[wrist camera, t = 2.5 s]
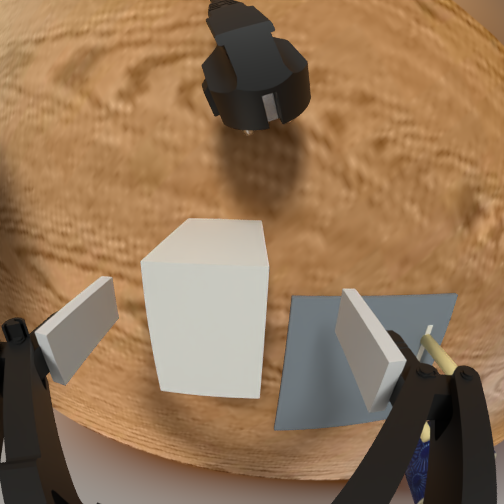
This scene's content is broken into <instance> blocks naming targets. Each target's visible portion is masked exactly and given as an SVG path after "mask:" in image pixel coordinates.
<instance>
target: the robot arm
mask: <svg viewBox="0 0 504 504" xmlns="http://www.w3.org/2000/svg"><path fill="white" fill-rule="evenodd" d="M118 319H119V316H118V310H117V305H116V299H115V292H114V286H113V278H112V277H106V276H101V277H100V278H99V279H97V280H96V281H95V282H94V283H92V284H91V285H90V286H89V287H87V288H86V289H85V290H84V291H82V292H81V293H80V294H79V295H77V296H76V297H75V298H74V299H73V300H71V301H70V302H69V303H68V304H66V305H65V306H64V307H63V308H62V309H61V310H59V311H58V312H56V313H54V314H52V315H51V316H50V317H48V318H47V320H45V321H44V322H43V323H42V324H40V325H39V326H38V327H37V328H36V329H35V330H33V331H32V332H31V333H30V334H29V332H28V329H27V326H26V323H25V320H24V319H22V318H12V319H9V320H8V321H6V322H5V323H4V324H3V325H2V330H3V332H4V335H5V338H6V340H7V342H0V461H1V453H2V446H3V440H4V442H5V453H6V462H5V463H4V462H3V463H0V482H1V488H2V494H3V499H4V503H5V504H83V503H82V502H81V501H80V499H79V497H78V495H77V493H76V490H75V487H74V485H73V482H72V479H71V476H70V474H69V470H68V468H67V465H66V461H65V458H64V454H63V451H62V447H61V444H60V440H59V436H58V432H57V427H56V423H55V418H54V413H53V408H52V403H51V397H50V391H49V384H48V380H47V378H46V375H47V374H48V373H49V372H50V374H51V376H52V379H53V381H54V382H57V383H60V384H62V385H65V386H66V384H67V383H68V382H69V380H70V379H71V378H72V376H73V375H74V374H75V372H76V371H77V370H78V369H79V367H80V366H81V365H82V363H83V362H84V361H85V360H86V358H87V357H88V356H89V354H90V353H91V352H92V351H93V349H94V348H95V347H96V346H97V344H98V343H99V342H100V341H101V339H102V338H103V337H104V336H105V334H106V333H107V332H108V331H109V330H110V328H111V327H112V326H113V325H114V324H115V322H116V321H117V320H118ZM335 333H336V335H337V337H338V340H339V342H340V344H341V347H342V349H343V351H344V354H345V356H346V358H347V361H348V363H349V366H350V368H351V370H352V373H353V375H354V378H355V380H356V382H357V385H358V387H359V390H360V392H361V395H362V397H363V400H364V402H365V405H366V407H367V410H368V412H369V413H371V412H378V411H384V410H385V409H386V407H387V405H388V403H389V401H390V403H391V405H392V409H391V411H390V413H389V415H388V417H387V419H386V421H385V423H384V425H383V426H382V428H381V430H380V432H379V434H378V435H377V437H376V439H375V441H374V442H373V444H372V446H371V447H370V449H369V451H368V452H367V454H366V455H365V457H364V459H363V460H362V462H361V463H360V465H359V466H358V468H357V469H356V471H355V472H354V474H353V475H352V477H351V478H350V479H349V481H348V482H347V484H346V485H345V487H344V488H343V489H342V490H341V492H340V493H339V495H338V496H337V497H336V498H335V500H334V501H333V502H332V503H331V504H389V503H390V501H391V499H392V497H393V495H394V494H395V492H396V490H397V488H398V486H399V484H400V482H401V480H402V478H403V476H404V474H405V472H406V470H407V467H408V465H409V463H410V461H411V458H412V456H413V454H414V451H415V449H416V447H417V444H418V441H419V439H420V436H421V434H422V431H423V428H424V425H425V422H426V420H430V445H429V459H428V470H427V479H426V487H425V494H424V500H423V504H497V486H496V485H497V484H496V465H495V455H494V446H493V438H492V432H491V426H490V420H489V415H488V410H487V405H486V400H485V396H484V392H483V388H482V384H481V380H480V376H479V374H478V372H477V371H476V370H474V369H473V368H471V367H469V366H458V367H457V368H456V369H455V370H454V372H453V374H452V375H441V374H439V373H438V371H437V369H436V368H434V367H433V366H431V365H429V364H426V363H420V362H419V360H418V359H417V358H416V356H415V355H414V353H413V352H412V351H411V349H410V348H408V345H407V344H406V343H405V341H404V340H403V339H402V337H401V336H400V335H399V334H397V333H396V332H394V331H393V330H385V329H384V327H383V326H382V324H381V323H380V322H379V320H378V319H377V317H376V316H375V315H374V313H373V312H372V311H371V309H370V308H369V306H368V305H367V304H366V302H365V301H364V300H363V298H362V297H361V296H360V294H359V293H358V292H357V290H356V289H343V290H342V295H341V301H340V307H339V312H338V317H337V323H336V328H335ZM97 504H100V503H97Z"/></svg>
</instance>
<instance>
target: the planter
mask: <svg viewBox="0 0 504 504" xmlns="http://www.w3.org/2000/svg"><path fill="white" fill-rule="evenodd" d="M428 425H429V427H430V421H429V422H428ZM429 445H430V440H429V441H427V442H422V440H421V438H420V439H419V441H418V444H417V447H416V449H415V451H414V454H413V456H412V458H411V461H410V463H409V465H408V467H407V470H406V472H405V475H406V479H407V481H408V485H409V488H410V491H411V494H412V497H413V500H414V503H415V504H423V500H424V494H425V487H426V479H427V470H428V459H429ZM494 455H495V458H496V455H497V454H496V452H495V451H494Z"/></svg>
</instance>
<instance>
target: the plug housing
mask: <svg viewBox="0 0 504 504" xmlns="http://www.w3.org/2000/svg"><path fill="white" fill-rule="evenodd" d="M141 271H142V280H143V289H144V297H145V305H146V312H147V319H148V326H149V332H150V338H151V344H152V349H153V355H154V360H155V365H156V370H157V375H158V379H159V384H160V388H161V391H168V392H175V393H184V394H193V395H203V396H216V397H232V398H260V387H261V374H262V362H263V349H264V336H265V322H266V308H267V293H268V278H269V262H268V256H267V250H266V244H265V238H264V232H263V226H262V220H235V219H198V218H188V219H187V220H186V221H185V222H184V223H183V224H181V225H180V226H179V227H178V228H177V229H176V230H175V231H173V232H172V233H171V234H170V235H169V236H168V237H167V238H166V239H164V240H163V241H162V242H161V243H160V244H159V245H158V246H157V247H156V248H154V249H153V250H152V251H151V252H150V253H149V254H148V255H147V256H146V257H145V258H144V259H143V260H141Z"/></svg>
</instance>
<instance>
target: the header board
mask: <svg viewBox="0 0 504 504" xmlns="http://www.w3.org/2000/svg"><path fill="white" fill-rule="evenodd" d="M457 296H458V295H457V294H456V293H448V294H426V295H394V296H361V297H362V298H363V300H364V301H365V302H366V304H367V305H368V306H369V308H370V309H371V311H372V312H373V313H374V315H375V316H376V317H377V319H378V320H379V322H380V323H381V324H382V326H383V327H384V329H385V330H393V331H394V332H396V333H397V334H399V335H400V336H401V337H402V339H403V340H404V341H405V343H406V344H407V345H408V348H410V349H411V351H412V352H413V353H414V355H415V356H416V358H417V359H418V360H419V362H420V363H426V364H429V365H431V366H432V364H433V362H434V360H435V362H436V363H437V364H438V365H439V367H440V368H441V369H442V371H443V372H444V373H445V374H446V375H452V374H453V372H454V370H455V369H456V368H457V367H458V366H457V365H456V364H455V363H454V362H453V360H452V359H451V358H450V357H449V356H448V354H447V353H446V352H445V351H444V350H443V349H442V348H441V346H440V345H441V342H442V340H443V337H444V335H445V332H446V329H447V326H448V324H449V321H450V318H451V315H452V312H453V309H454V306H455V303H456V299H457ZM340 301H341V296H292V298H291V307H290V316H289V325H288V333H287V341H286V349H285V357H284V364H283V372H282V379H281V386H280V393H279V400H278V406H277V413H276V419H275V425H274V430H301V429H316V428H328V427H337V426H346V425H353V424H360V423H367V422H373V421H378V420H384V419H387V417H388V415H389V413H390V411H391V409H392V405H391V403H390V401H389V403H388V405H387V407H386V409H385V410H384V411H378V412H371V413H369V412H368V410H367V407H366V405H365V402H364V400H363V397H362V395H361V392H360V390H359V387H358V385H357V382H356V380H355V378H354V375H353V373H352V370H351V368H350V366H349V363H348V361H347V358H346V356H345V354H344V351H343V349H342V347H341V344H340V342H339V340H338V337H337V335H336V333H335V328H336V323H337V317H338V312H339V307H340ZM420 438H421V440H422V442H427V441H429V440H430V427H429V425H428V423H427V422H425V425H424V428H423V431H422V434H421V436H420Z"/></svg>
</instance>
